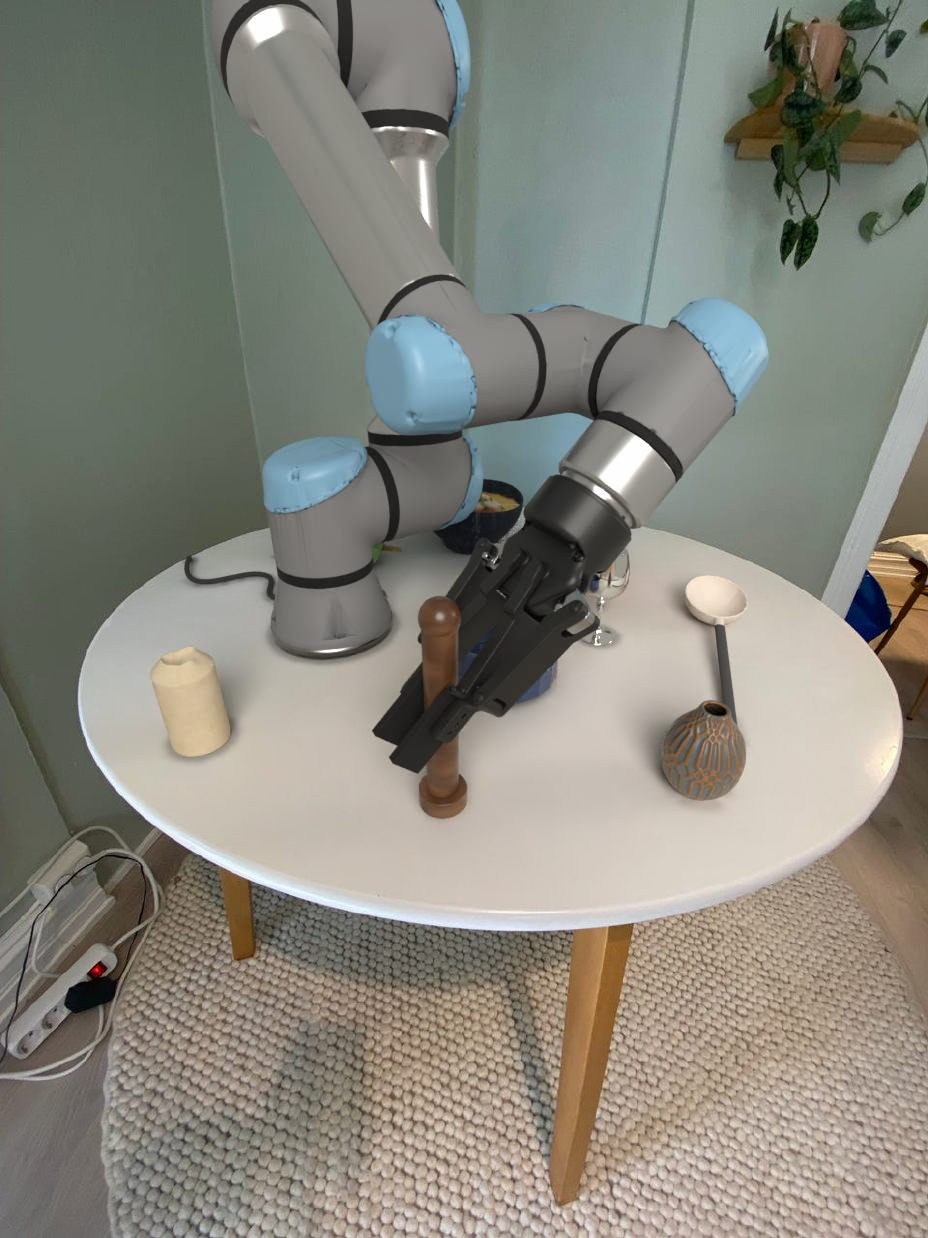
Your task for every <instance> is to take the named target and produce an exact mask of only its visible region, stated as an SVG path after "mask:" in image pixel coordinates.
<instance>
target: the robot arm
mask: <svg viewBox="0 0 928 1238" xmlns="http://www.w3.org/2000/svg"><path fill="white" fill-rule="evenodd" d="M467 28H468V27H467V25H466V21H465V18H464V15H463V12H462V9H461V7H460V5H459V3H458V1H457V0H212V5H211V11H210V39H211V49H212V53H213V58H214V62H215V66H216V70H217V72H218V75H219V77H220V80H221V83H222V86H223V88H224V90H225V92H226V93H227V95H228V97H229V100H230V102H231V103H232V105H233V107H234V109H235V111H236V113H237V114H238V116H239V117H240V118H241V120H242V122H244V125H246V126H247V127H248V128H249V129H250V130H251V131H252V132H253V133H255V134H256V135H258V136H260V137H261V138H263V139H265V140H266V141H267V144H268V145H269V148H270V149H271V151H272V152H273V154H274V156H275V159H276V160H277V162H278V163H279V165H280V167H281V169H282V171H283V173H284V174H285V177H286V178H287V180H288V182H289V184H290V185H291V187H292V189H293V191H294V193H295V194H296V196H297V199H298V200H299V202H300V203H301V205H302V207H303V209H304V210H305V213H306V214H307V216H308V218H309V220H310V222H311V224H312V225H313V227H314V229H315V231H316V232H317V234H318V236H319V238H320V239H321V241H322V243H323V245H324V247H325V249H326V250H327V252H328V254H329V256H330V258H331V259H332V261H333V263H334V265H335V267H336V268H337V271H338V272H339V274H340V276H341V278H342V280H343V282H344V283H345V285H346V287H347V289H348V291H349V292H350V295H351V296H352V298H353V300H354V301H355V303H356V305H357V307H358V308H359V311H360V313H361V314H362V316H363V318H364V320H365V321H366V323H367V325H368V330H369V338H368V340H367V343H366V347H365V351H364V363H363V366H364V378H365V383H366V385H367V387H368V388H369V392H370V403H371V405H372V408H373V410H374V412H375V416H374V417H373V419H371V421H370V422H369V423H368V425H367V426H366V431H367V439H368V440H367V441H368V445H367V446H365V445H364V442H362V440H360V439H359V438H356V437H354V436H349V435H340V434H338V435H337V434H335V435H331V436H327V437H326V436H316V437H311V438H306V439H302V440H298V441H295V442H293V443H290V444H287V445H284V446H283V447H280V448H278V449H277V450H276V451H274V452H273V453H271V455H270V456H269V457H267V459H266V460H265V462H264V464H263V467H262V469H261V471H262V472H261V476H262V487H263V488H262V489H263V505H264V508H265V509H266V514H267V521H268V525H269V526H268V527H269V531H270V538H271V545H272V548H273V549H272V550H273V554H274V561H275V567H276V573H277V584H276V589H275V593H273V587H274V577H273V576H272V575H271V573H268V572H264V571H258V570H257V571H255V570H253V571H244V572H239V573H234V574H229V575H225V576H219V577H214V578H199V577H194V575H192V573H191V570H190V567H191V562H192V559H193V556H192V555H187V556H186V558H185V560H184V565H183V567H184V568H183V570H184V574H185V576H186V578H187V579H188V580H189V581H190V582H192V583H195V584H198V585H199V584H200V585H211V584H219V583H224V582H229V581H233V580H238V579H242V578H248V577H262V578H265V579H267V581H268V582H267V587H266V596H267V597H268V598H269V599H271V600H273V605H272V606H273V608H272V611H271V615H270V631H271V637H272V639H273V642H274V643H275V645H276V646H277V647H278V648H279V649H280V650H282V651H284V652H285V653H288V654H289V655H293V656H295V657H299V658H303V659H312V660H334V659H341V658H347V657H351V656H354V655H358V654H360V653H363V652H366V651H368V650H371V649H372V648H374V647H376V646H378V645H379V644H380V643H382V642H383V641H384V640H386V638H387V637H388V635H389V634H390V632H391V629H392V628H393V614H392V610H391V606H390V602H389V601H388V598H389V597H388V595H387V592H386V590H384V589H383V588H382V585H381V582H380V581H379V578H378V576H377V573H376V571H375V563H374V561H373V546H374V545H376V544H380V543H388V542H392V541H395V540H399V539H403V538H407V537H411V536H415V535H418V534H422V533H423V534H424V533H426V532H427V533H428V532H431V531H432V532H433V531H435V530H440V529H444V528H446V527H447V526H449V525H452V524H455V523H458V522H460V521H462V520H464V519H466V518H467V517H468V516H469V514H470V513H471V512H472V511H473V510H474V509H475V508H476V506H477V504H478V502H479V499H480V496H481V492H482V487H483V479H484V465H483V461H482V456H481V454H479V453H477V451H478V447H477V445H476V443H475V441H474V440H473V439H472V438H471V437H470V436H469V435H467V434H466V433H464V432H463V430H467V429H474V428H480V427H485V426H489V425H496V424H502V423H507V422H516V421H517V422H519V421H520V422H521V421H525V420H533V419H539V418H543V417H550V416H556V415H557V416H558V415H562V414H573V415H574V414H575V415H579V416H582V417H584V418H586V419H589V420H591V421H592V422H591V423H589V426H587V428H586V429H585V430H584V431H583V433H582V434H581V435H580V436H579V438H578V439H577V440H576V441H575V443H574V444H573V445H572V446H571V447H570V448H569V450H568V451H567V452H566V453H565V455H564V456H563V457H562V458H561V460H560V461H559V462H558V466H557V467H558V472H559V474H554V475H549V476H548V478H546V480H545V481H544V483H542V485H541V486H540V487H539V488H538V489H537V491H536V492H535V493H534V495H532V497H531V499H530V500H529V501H528V502H527V504H526V505H524V508H523V510H522V512H523V517H524V524H523V526H522V527H521V528H520V529H519V530H517V531H516V532H515V533H514V534H512V535H511V536H509V537H508V538H507V539H506V540H505V542H500V543H498V542H497V543H496V544H492V543H491V542H490V541H489V540H488V539H487V538H485V537H483V538H481V539H479V540H478V541H477V543H476V545H475V547H474V550H473V552H472V554H470V558H469V561H468V563H467V564H466V565H465V567H464V568H463V570H461V573H460V574H459V575H458V577H457V579H456V580H455V581H454V583H453V584H452V586H451V587H450V588H449V590H448V591H447V593H446V594H445V595H444V597H447V598H450V599H451V600H453V601H454V602H455V603H456V604H457V605H458V607H459V609H460V612H461V624H460V627H459V663H460V662H461V660H462V659H463V658H464V657H465V656H466V655H467V654H468V653H469V652H470V651H471V650H472V649H473V648H474V647H475V646H476V645H477V644H478V643H479V642H480V641H481V640H482V639H483V638H484V637H485V636H486V634H487V633H488V632H489V631H490V630H491V629H492V628H493V627H494V626H495V625H496V624H497V623H498V622H499V623H498V624H497V626H496V627H495V629H494V630H493V632H492V633H491V635H490V636H489V638H488V639H487V641H486V642H485V644H484V645H483V647H482V648H481V650H480V651H479V653H478V654H477V656H476V657H475V659H474V660H473V662H472V663H471V665H470V667H469V668H468V670H467V671H466V673H465V674H464V676H463V677H462V679H461V680H460V682H459V683H458V685H457V686H454V685H453V684H451V683H449V685H448V688H446V687H444V689H443V690H442V691H441V692H440V694H439V695H438V696H437V697H436V699H435V700H434V701H433V702H432V704H431V705H430V706H429V707H428V709H427V710H426V711H425V712H424V693H423V666H422V661H421V662H420V664H418V666H417V667H416V669H415V670H414V671H413V672H412V673H411V675H410V676H409V677H408V678H407V680H406V681H405V682H404V684H403V685H402V686H401V688H400V691H399V693H400V694H399V696H398V697H397V698H396V699H395V701H393V703H392V704H391V706H390V707H389V708H388V709H387V710H386V711H385V713H384V714H383V715H382V717H381V718H380V720H378V722H377V723H376V724H375V726H374V727H373V728H372V729H371V732H372V734H373V735H374V736H375V737H376V738H378V739H380V740H383V741H385V742H388V743H390V744H391V745H395V746H396V747H395V749H394V750H393V751H392V752H391V753H390V754H389V756H388V759H389V760H390V762H391V763H392V765H394V766H397V767H400V768H402V769H405V770H407V771H410V772H412V773H414V774H417V775H419V774H420V773H421V772H422V770H423V769H424V768H425V767H426V764H427V763H428V761H429V760H430V759H431V758H432V756H433V755H434V754H435V753H436V751H437V750H438V749H439V748H440V746H441V745H442V744H443V743H446V744H448V743H450V742H451V741H453V740H454V738H455V737H456V736H457V734H458V733H459V734H460V732H461V731H462V729H464V727H465V726H466V725H467V724H468V722H469V721H470V720H471V719H472V717H473V716H474V715H475V714H476V713H478V712H484V713H486V714H490V715H492V716H494V717H495V718H502V717H504V716H505V715H506V714H507V713H508V712H509V711H510V710H511V709H512V708H513V707H514V706H515V704H517V703H516V702H517V701H518V700H519V699H520V698H521V697H522V696H523V695H524V694H525V693H526V692H527V691H528V690H529V689H530V688H531V687H532V686H533V685H534V684H535V683H536V682H537V681H538V680H539V678H540V677H541V676H542V675H543V674H544V673H545V672H546V671H547V670H548V669H549V668H550V667H551V666H552V665H553V664H554V663H555V662H556V661H557V660H558V661H559V659H560V658H561V657H562V656H563V655H564V654H565V653H566V652H567V651H568V650H569V649H570V647H572V646H573V644H575V643H576V642H579V641H580V640H582V638H583V637H585V636H587V635H589V634H590V633H592V632H594V631H595V630H597V629H598V627H599V626H600V625H601V618H600V619H599V618H598V617H597V614H596V613H595V612H593V611H592V610H591V608H590V606H589V604H588V601H587V599H586V595H587V591H588V589H589V586H590V582H591V580H592V578H593V576H594V575H595V574H602V573H604V572H606V571H607V570H608V568H609V567H610V566H611V565H612V563H613V562H614V561H615V560H616V558H617V557H618V556H619V555H620V554H621V552H622V551H623V550H624V549H625V548H627V546H628V545H629V544H630V543H631V541H632V530H635V529H641V528H642V527H643V526H644V525H645V523H646V522H647V521H648V520H649V518H650V517H651V516H652V514H653V513H654V512H655V511H656V509H657V508H658V507H659V506H660V504H662V502H663V501H664V500H665V499H666V498H667V496H668V495H669V493H671V492H672V490H673V489H674V488H675V486H676V485H677V484H678V482H679V481H680V479H682V477H683V476H684V474H685V472H687V470H688V469H689V468H690V467H691V466H692V464H693V463H694V462H695V461H696V460H697V458H698V457H699V456H700V455H701V453H702V452H703V451H704V450H705V448H707V446H708V445H709V444H710V442H711V441H712V440H713V439H714V438H715V437H716V435H717V434H718V433H719V432H720V431H721V430H722V429H723V428H724V427H725V425H727V423H728V422H729V421H730V420H731V419H732V418H733V417H735V416H736V415H737V414H738V412H739V411H740V407H741V405H742V404H743V403H744V401H745V400H746V398H747V397H748V396H749V395H750V393H751V391H753V389H754V388H755V386H756V385H757V383H758V382H759V380H760V379H761V378H762V377H763V375H764V373H765V372H766V369H767V368H768V365H769V360H770V359H769V358H770V351H769V348H768V343H767V342H768V341H767V340H768V339H767V337H766V335H765V333H764V331H763V329H762V328H761V327H760V324H759V323H758V322H757V321H756V320H755V319H754V317H752V316H751V315H750V314H749V313H748V312H746V311H745V310H744V309H743V308H741V307H740V306H738V305H736V304H734V303H733V302H731V301H728V300H726V299H722V298H719V297H711V296H707V297H703V298H700V299H698V300H694V301H693V300H692V301H690V302H688V303H687V304H686V305H685V306H683V307H682V309H681V310H680V311H679V312H678V313H677V314H676V315H674V316H672V317H670V320H669V322H668V325H667V327H659V326H655V325H652V324H642V323H637V322H634V321H629V320H626V319H622V318H619V317H615V316H611V315H609V314H604V313H601V312H596V311H595V310H590V309H588V308H587V309H586V308H585V307H584V306H583V305H580V304H575V303H572V304H570V303H569V304H564V303H558V302H553V301H552V302H551V301H548V302H547V301H546V302H542V303H538V304H536V305H535V306H533V307H532V308H531V309H529V310H528V311H527V312H523V313H515V312H514V313H512V312H511V313H485V312H483V311H482V310H481V309H480V308H479V305H478V304H477V302H476V300H475V298H474V297H473V295H472V294H471V292H470V290H469V289H468V288H467V287H466V285H465V283H464V282H463V280H462V278H461V276H460V275H459V274H458V272H457V270H456V268H455V267H454V265H453V263H452V262H451V260H450V259H449V256H448V255H447V253H446V252H445V251H444V249H443V247H442V245H441V244H440V243H441V242H440V241H441V240H440V224H439V207H438V188H437V187H438V185H437V169H436V168H437V166H438V163H439V162H440V160H441V159H442V157H443V156H444V155H445V153H446V152H447V151H448V149H449V147H450V132H451V131H452V130H453V129H454V128H455V127H456V126H457V125H458V123H459V121H460V119H461V118H462V115H463V113H464V111H465V108H466V101H465V95H467V94H469V91H470V87H471V85H470V84H471V72H472V71H471V69H472V68H471V67H472V59H471V46H470V39H469V34H468V29H467ZM524 611H525V612H524ZM529 615H530V616H529ZM600 627H601V626H600ZM417 642H418V644H420V645H422V640H421V631H420V632H419V634H418V636H417ZM478 686H480V687H479V688H476V687H478Z"/></svg>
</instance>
